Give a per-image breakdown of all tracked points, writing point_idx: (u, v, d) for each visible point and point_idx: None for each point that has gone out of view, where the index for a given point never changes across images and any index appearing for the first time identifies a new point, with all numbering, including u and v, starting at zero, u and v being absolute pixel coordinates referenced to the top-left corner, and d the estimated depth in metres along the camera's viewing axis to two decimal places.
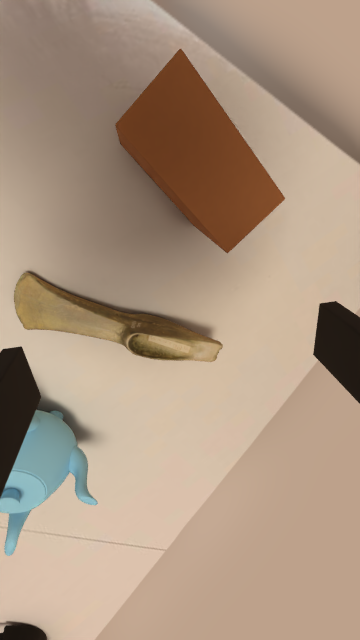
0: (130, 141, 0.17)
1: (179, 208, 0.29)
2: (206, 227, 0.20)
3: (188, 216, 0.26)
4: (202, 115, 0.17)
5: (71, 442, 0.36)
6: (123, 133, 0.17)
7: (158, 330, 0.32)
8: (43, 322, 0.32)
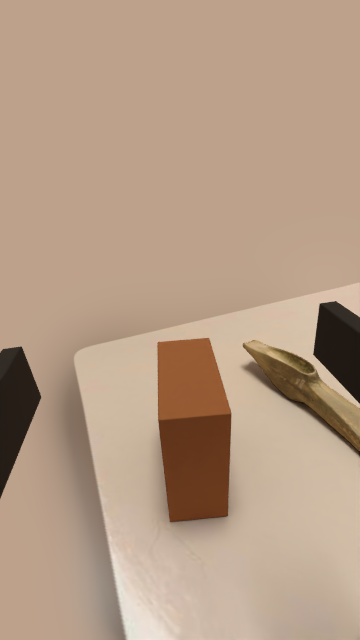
0: (227, 402, 0.22)
1: None
2: (212, 351, 0.28)
3: None
4: (172, 389, 0.23)
5: None
6: (228, 407, 0.21)
7: (283, 369, 0.37)
8: None
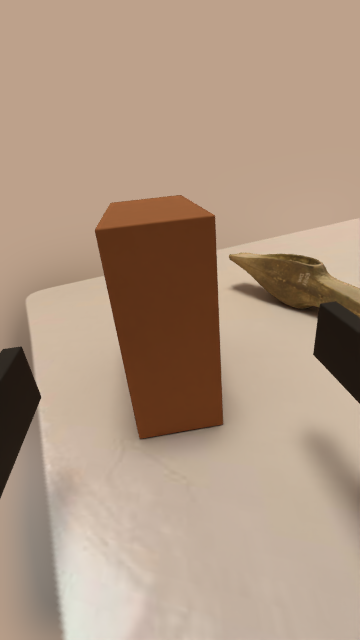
0: None
1: None
2: (185, 198, 0.20)
3: None
4: (122, 215, 0.15)
5: None
6: (210, 213, 0.13)
7: (282, 268, 0.30)
8: None
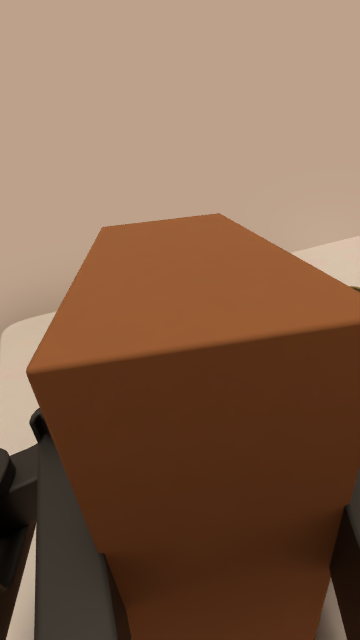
0: (347, 287, 0.05)
1: None
2: (233, 222, 0.11)
3: None
4: (120, 280, 0.06)
5: None
6: None
7: None
8: None
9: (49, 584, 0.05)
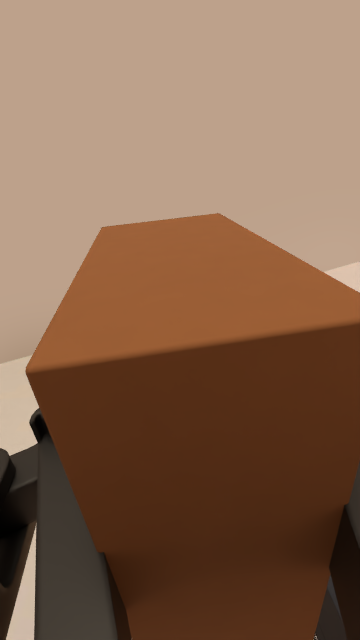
0: (346, 286, 0.05)
1: None
2: (233, 222, 0.11)
3: None
4: (119, 279, 0.06)
5: None
6: None
7: None
8: None
9: (49, 584, 0.05)
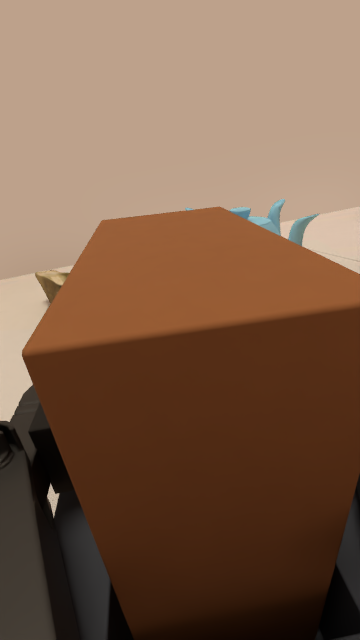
0: (352, 272, 0.05)
1: None
2: (234, 214, 0.11)
3: None
4: (119, 267, 0.06)
5: None
6: None
7: (49, 286, 0.35)
8: None
9: None
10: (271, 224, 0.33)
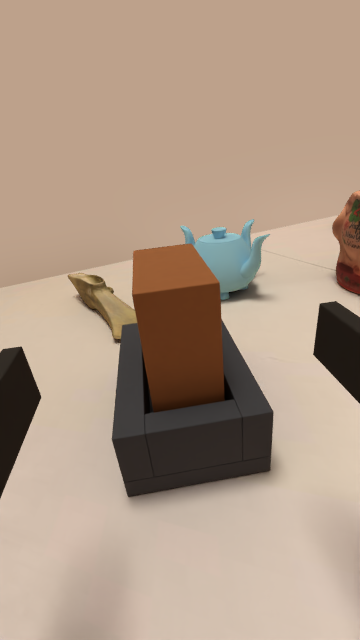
0: (214, 276, 0.18)
1: None
2: (195, 249, 0.24)
3: None
4: (149, 275, 0.20)
5: None
6: (216, 279, 0.18)
7: (82, 285, 0.49)
8: None
9: None
10: (240, 240, 0.47)
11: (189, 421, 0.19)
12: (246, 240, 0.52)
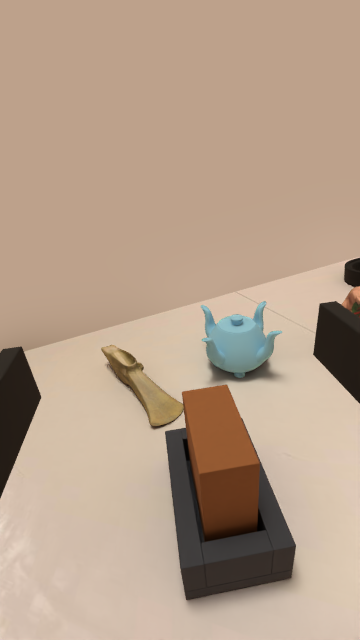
0: (254, 451, 0.26)
1: None
2: (232, 398, 0.31)
3: None
4: (204, 441, 0.27)
5: None
6: (256, 456, 0.25)
7: (117, 364, 0.56)
8: (167, 399, 0.50)
9: None
10: (256, 328, 0.54)
11: (235, 552, 0.26)
12: (259, 320, 0.59)
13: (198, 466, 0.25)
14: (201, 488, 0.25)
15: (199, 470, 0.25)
